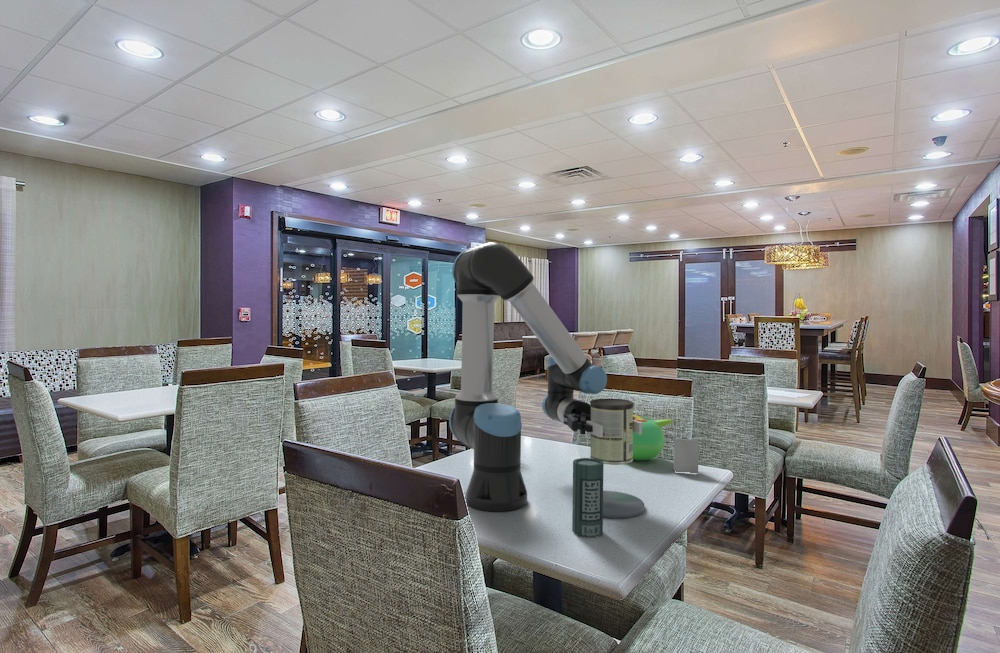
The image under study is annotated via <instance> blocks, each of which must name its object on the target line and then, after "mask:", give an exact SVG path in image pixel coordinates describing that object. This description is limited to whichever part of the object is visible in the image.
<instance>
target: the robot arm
mask: <svg viewBox="0 0 1000 653" xmlns="http://www.w3.org/2000/svg"><path fill="white" fill-rule="evenodd" d="M451 273H452V274H451V275H452V278H453V281H454V282H455V284H456V286H457V287H456V288H457V289H456V291H457V293H456V295H457V298H458V299H459V300H460V301H461V302H462V316H461V317H462V318H461V319H462V323H461V325H462V326H461V328H462V329H461V369H460V370H461V371H460V372H461V374H460V377H461V378H460V379H461V380H460V391H459V392H458V393H457V394H456V395H455V400H454V407H453V408H452V409H451V412H450V414H449V418H448V421H449V422H448V424H449V429H450V431H451V433H452V435H453V436H454V437H455V438H456V440H457V441H458V442H460V443H461V444H462V445H464V446H467V447H470V448H471V449H473V470H472V474H471V478H470V480H469V483H468V487H467V489H466V496H465V497H466V499H465V501H467V502H466V504H467V505H468V506H469V507H472V508H474V509H477V510H481V511H486V512H509V511H514V510H518V509H521V508H523V507H525V506H526V504H527V503H528V490H527V488H526V484H525V481H524V477H523V474H522V471H521V470H522V469H521V457H522V456H521V455H522V452H521V451H522V448H521V447H522V428H523V424H522V419H521V418H522V416H521V413H520V411H519V409H517V408H516V407H514V406H513V405H509V404H503V403H499V397H498V396H497V394H495V392H494V390H493V381H494V380H493V379H494V377H493V376H494V375H493V374H494V344H495V342H494V336H495V335H494V332H495V303H496V302H497V301H498V300H499V299H500V298H501V299H502V300H503V301H505V302H509V303H510V304H511V305H512V307H513V308H514V310H515V311H516V312H517V314H518V315H519V316H520V317H521V318H522V320H523V322H525V324H526V326H528V328H529V329H530V331H531V332H532V333H533V334H534V336H535V337H536V338H537V339H538V340H537V341H539V343H541V345H542V346H543V347H544V349H545V350H546V351H547V353H548V354H549V356H548V358H547V368H546V370H547V395H545V397H544V398H543V400H542V404H541V409H542V411H543V413H544V414H545V415H546V416H547V417H548V418H550V419H552V421H556V422H559V423H562V424H563V425H566V426H567V427H568V428H570V430H571V431H572V432H578V430H579V433H580V435H586V433H588V434H590V435H591V434H593V435H595V436H598V437H603V426H602V425H600V424H597V423H594V422H592V421H591V405H590V404H589V403H588V402H587V401H582V400H580V399H576V398H574V394H575V392H574V391H577V392H579V393H583V394H586V395H587V394H588V395H589V394H591V395H596V394H597V395H598V394H599V393H601V392H602V391H603V390H604V389H605V388H606V385H607V382H608V376H607V373H606V371H605V370H604V368H602V367H601V366H598V365H596V364H593V363H592V362H591V361H590V359H589V358H588V356H587V355H586V354H585V352H584V351H583V350H582V349H581V347H580V346H579V344H578V343H577V342H576V340H575V339H574V337H573V336H572V335H571V333H570V332H569V331H568V329H567V328H566V327H565V325H564V323H562V321H561V319H560V318H559V317H558V316H557V314H556V313H555V311H554V309H552V307H551V306H550V304H549V303H548V301H546V299H545V297H544V296H543V295H542V293H541V292H540V291H539V289H538V287H537V286H535V284H534V280H535V278H534V276H533V275H532V273H531V272H530V270H529V268H528V267H527V266H526V265H525V264H524V262H523V261H522V260H521V259H520V258H519V257H518V255H516V253H514V251H512V250H511V249H510V248H509V247H507V246H506V245H504V244H501V243H500V242H499V243H498V242H493V241H492V242H491V241H490V242H486V243H483V244H481V245H477V246H471V247H469V248H465V250H463V251H462V252H460V254H458V255H457V256H456V258H455V259H454V261H453V264H452V269H451ZM633 432H634V433H637V434H642V423H641V422H638V421H635V420H634V417H633Z"/></svg>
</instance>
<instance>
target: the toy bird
mask: <svg viewBox="0 0 1000 653" xmlns="http://www.w3.org/2000/svg"><path fill="white" fill-rule="evenodd" d="M633 417H634V420H635V421H638V422H641V423H642V434H637V433H634V432H633V461H634V460H635V461H647V460H652V459H655V458H656V457H657V456H659V454H661V453H662V451H663V450H664V447H665V441H666V437H665V434H664V430H663V429H662V428H664V427H666V426H668V425H670V424H672V423H673V422H674V420H673V419H669V418H667V419H657V420H652V419H649V418H648V417H647V416H640V415H636V414H633Z"/></svg>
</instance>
